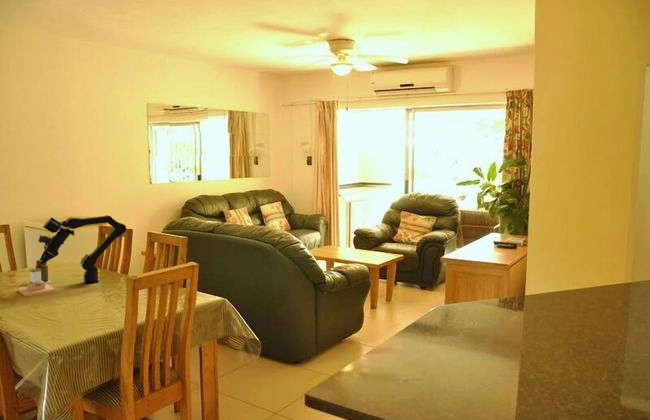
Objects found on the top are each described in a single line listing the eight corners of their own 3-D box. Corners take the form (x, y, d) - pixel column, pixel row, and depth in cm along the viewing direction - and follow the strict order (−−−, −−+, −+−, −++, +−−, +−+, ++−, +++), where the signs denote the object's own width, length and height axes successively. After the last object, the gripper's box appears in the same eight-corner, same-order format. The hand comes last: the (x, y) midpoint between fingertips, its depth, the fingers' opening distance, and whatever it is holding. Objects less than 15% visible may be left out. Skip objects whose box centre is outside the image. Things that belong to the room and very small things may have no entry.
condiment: (48, 279, 289) (47, 258, 287) (51, 282, 282) (50, 261, 281) (33, 280, 284) (32, 260, 283) (36, 284, 278) (35, 262, 276)
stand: (47, 286, 273) (46, 277, 273) (55, 291, 263) (54, 282, 263) (18, 291, 263) (17, 281, 263) (25, 296, 253) (24, 287, 253)
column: (40, 286, 266) (39, 268, 265) (42, 288, 263) (41, 269, 262) (30, 288, 263) (29, 269, 262) (32, 290, 260) (31, 271, 259)
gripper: (45, 226, 276) (26, 250, 273) (47, 232, 260) (26, 257, 257) (64, 237, 281) (45, 261, 278) (66, 243, 265) (47, 268, 262)
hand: (41, 261), depth 269 cm, fingers open, 9 cm apart
